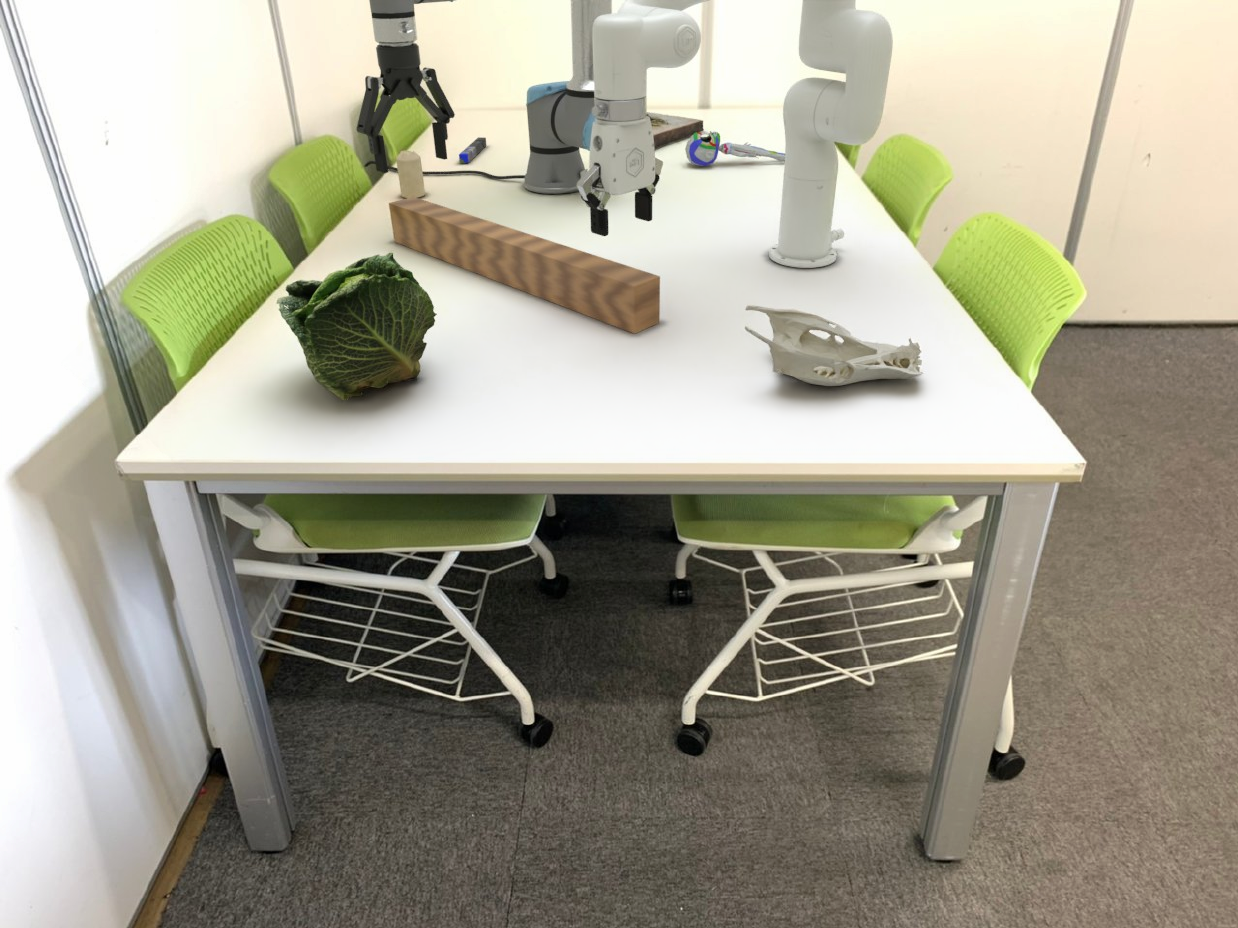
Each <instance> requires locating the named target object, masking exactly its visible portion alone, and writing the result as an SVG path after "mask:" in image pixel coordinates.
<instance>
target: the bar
mask: <svg viewBox="0 0 1238 928" xmlns="http://www.w3.org/2000/svg"><path fill="white" fill-rule="evenodd" d="M388 208H389V215H390V220H391V228H392V234H393V241H394V243H396V244H398V245H401V246H404V247H407V248H409V249H411V250H414V251H417V252H419V253H422V254H425V255H427V256H430V257H433V258H436V259H438V260H440V261H443V262H445V263H449V264H451V265H453V266H457V267H459V268H462V269H464V270H466V271H469V272H472V273H474V274H478V275H479V276H482V277H484V278H487V279H489V280H493V281H495V282H499V283H501V284H503V285H505V286H509V287H512V288H514V289H516V290H519V291H521V292H524V293H526V294H529V295H532V296H534V297H537V298H540V299H542V300H545V301H548V302H551V303H553V304H556V305H558V306H561V307H562V308H563V307H564V308H566V309H568V310H572V311H574V312H576V313H579V314H582V315H585V316H587V317H590V318H593V319H595V320H597V321H600V322H603V323H604V324H608V325H610V326H613V327H616V328H618V329H621V330H623V331H626V332H629V333H631V334H634V335H636V334H638V333H639V332H642V331H645V330H647V329H649V328H652V327H653V326H656V325H658V324H660V321H661V320H660V313H661V312H660V311H661V304H660V303H661V299H660V298H661V296H660V295H661V276H660V275H657V274H655V273H651V272H648V271H644V270H641V269H639V268H635V267H632V266H630V265H626V264H623V263H620V262H617V261H614V260H611V259H608V258H605V257H601V256H599V255H596V254H592V253H589V252H586V251H583V250H580V249H577V248H573V247H571V246H567V245H564V244H561V243H559V242H555V241H552V240H549V239H545V238H542V237H539V236H536V235H534V234H530V233H528V232H523V231H521V230H517V229H514V228H511V227H509V226H505V225H503V224H499V223H496V222H492V221H489V220H486V219H485V218H484V219H483V218H480V217H478V216H474V215H472V214H468V213H465V212H462V211H459V210H456V209H454V208H453V209H452V208H449V207H447V206H444V205H440V204H437V203H434V202H431V201H429V200H425V199H423V198H420V197H417V198H416V197H411V198H403V199H399V200H395V201H392V202H391V201H390V202H388Z"/></svg>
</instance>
